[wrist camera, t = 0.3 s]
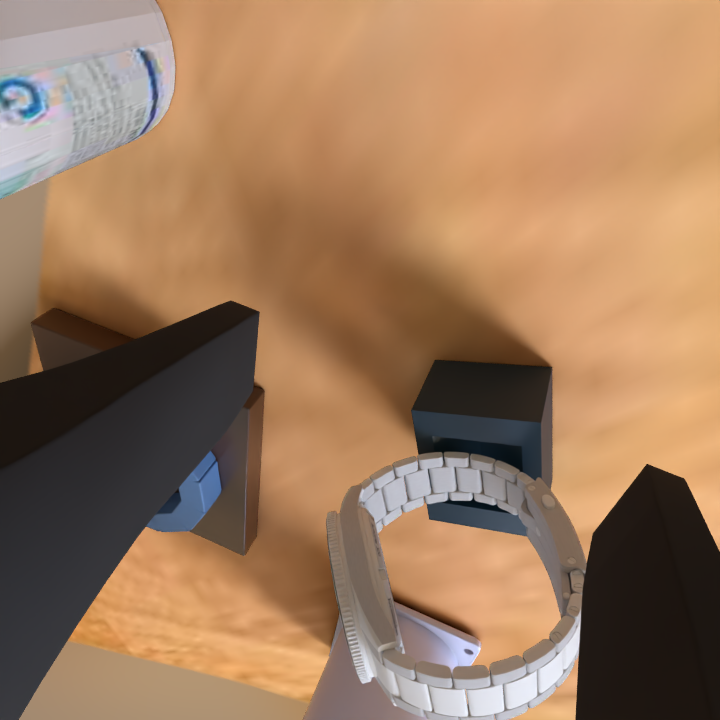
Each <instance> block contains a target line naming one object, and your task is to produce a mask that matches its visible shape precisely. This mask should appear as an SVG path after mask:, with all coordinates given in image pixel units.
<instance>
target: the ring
mask: <svg viewBox="0 0 720 720" xmlns="http://www.w3.org/2000/svg"><path fill="white" fill-rule="evenodd" d="M179 492H180V493H174V494H173V495H172V496H171V497H170V498H169V499H168V501H167V502H166V503H165V504H164V505H163V506H162V508H161V509H160V510H159V511H158V512H157V513H156V515H155V516H154V517H153V518H152V519H151V521H150V522H149V523H148V524H147V526H146V527H149V528H151V529H154V530H156V531H161V532H180V531H190V530H192V529H193V528H194V527H195V526H196V524H197V523H198V522H199V521H200V520H201V519H202V518H203V516H204V515H205V514H206V513H207V511H208V510H209V509H210V507H211V506H212V505H213V503H214V502H215V501H216V499H217V498H218V496H219V495H220V494H221V483H220V476H219V470H218V463H217V461H216V458H215V456H214V455H213V453H212V452H211V451H210V452H209V453H208V454H207V455H206V457H205V458H204V459H203V460H202V461H201V462H200V464H199V465H198V466H197V467H196V468H195V469H194V471H193V472H192V473H191V474H190V475H189V476H188V477H187V479H186V480H185V481H184V482H183V483H182V484H181V486H180V487H179Z"/></svg>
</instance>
